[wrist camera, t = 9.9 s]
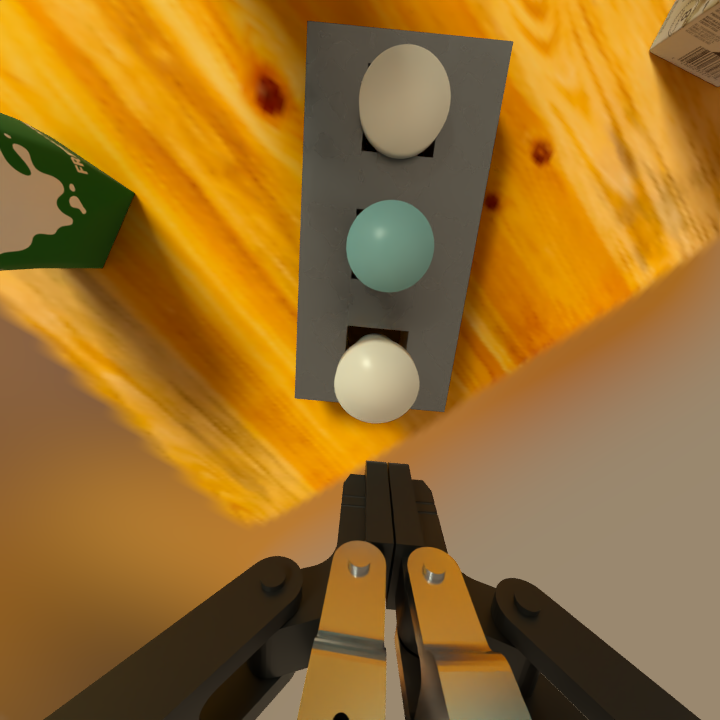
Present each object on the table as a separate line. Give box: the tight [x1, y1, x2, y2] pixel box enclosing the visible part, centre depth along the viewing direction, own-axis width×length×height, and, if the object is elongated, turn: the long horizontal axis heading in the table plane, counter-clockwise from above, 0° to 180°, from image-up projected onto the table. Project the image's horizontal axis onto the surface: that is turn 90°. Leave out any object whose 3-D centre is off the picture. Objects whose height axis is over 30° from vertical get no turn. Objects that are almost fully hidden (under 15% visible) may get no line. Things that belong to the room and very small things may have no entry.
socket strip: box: [295, 21, 513, 412], centre depth 26 cm, size 24×12×5 cm, turn 175°
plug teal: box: [346, 200, 434, 292], centre depth 23 cm, size 5×5×6 cm
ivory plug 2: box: [334, 333, 419, 423], centre depth 24 cm, size 5×5×6 cm
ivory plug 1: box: [359, 44, 451, 159], centre depth 22 cm, size 5×5×6 cm
